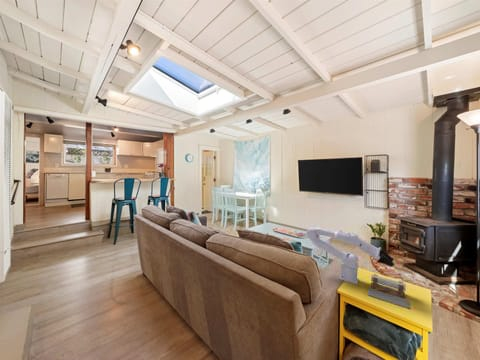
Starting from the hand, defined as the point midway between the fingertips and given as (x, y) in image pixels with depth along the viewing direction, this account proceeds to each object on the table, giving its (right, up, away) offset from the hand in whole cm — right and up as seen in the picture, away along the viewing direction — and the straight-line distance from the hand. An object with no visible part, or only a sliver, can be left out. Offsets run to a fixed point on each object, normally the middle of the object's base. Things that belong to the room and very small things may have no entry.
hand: (393, 262), depth 115 cm
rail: (-2, -14, +2) cm, 14 cm away
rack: (-2, -17, +2) cm, 17 cm away
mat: (-7, -17, -5) cm, 19 cm away
